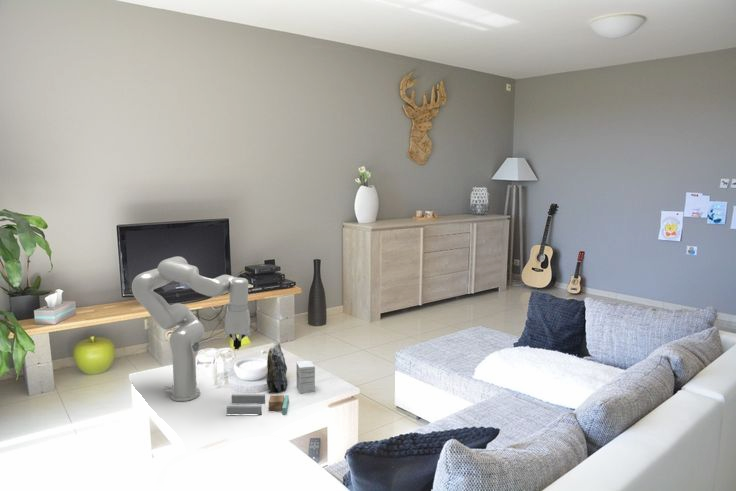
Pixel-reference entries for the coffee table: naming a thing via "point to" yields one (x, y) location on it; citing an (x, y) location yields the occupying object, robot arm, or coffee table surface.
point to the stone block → (276, 369)
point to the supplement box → (305, 377)
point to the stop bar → (285, 405)
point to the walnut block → (276, 402)
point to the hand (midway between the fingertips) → (237, 348)
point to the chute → (246, 399)
